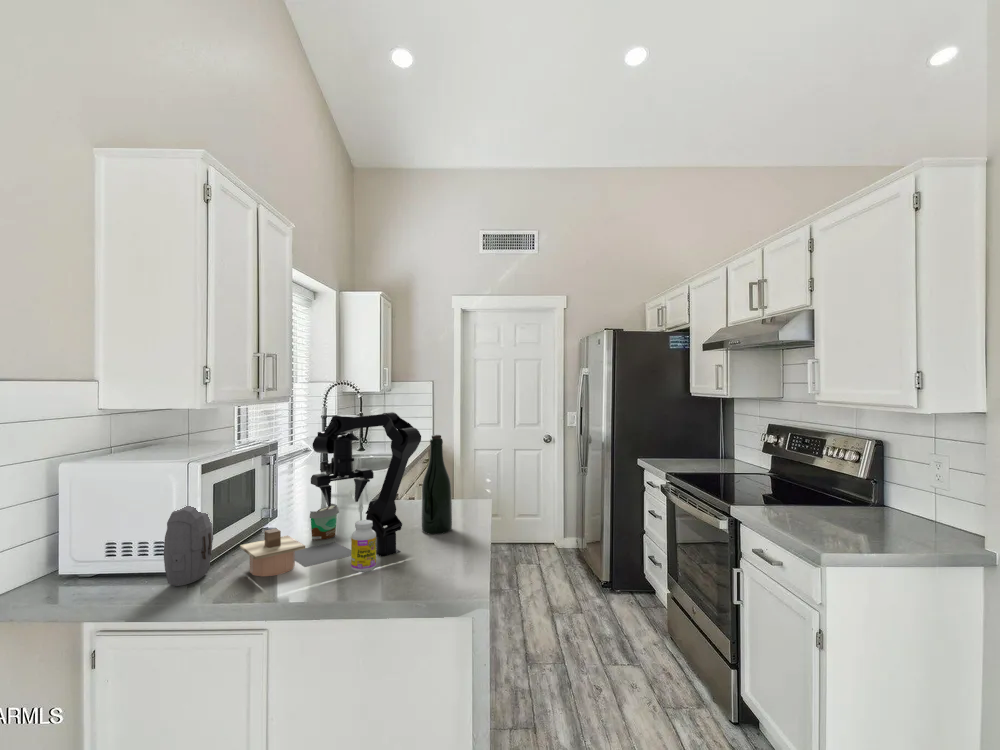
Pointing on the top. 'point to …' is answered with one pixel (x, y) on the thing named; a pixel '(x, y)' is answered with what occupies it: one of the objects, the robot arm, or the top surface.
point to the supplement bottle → (363, 547)
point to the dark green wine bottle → (436, 492)
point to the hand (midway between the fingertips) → (343, 504)
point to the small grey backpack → (187, 546)
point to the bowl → (272, 564)
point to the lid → (272, 545)
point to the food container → (324, 522)
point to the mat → (321, 554)
